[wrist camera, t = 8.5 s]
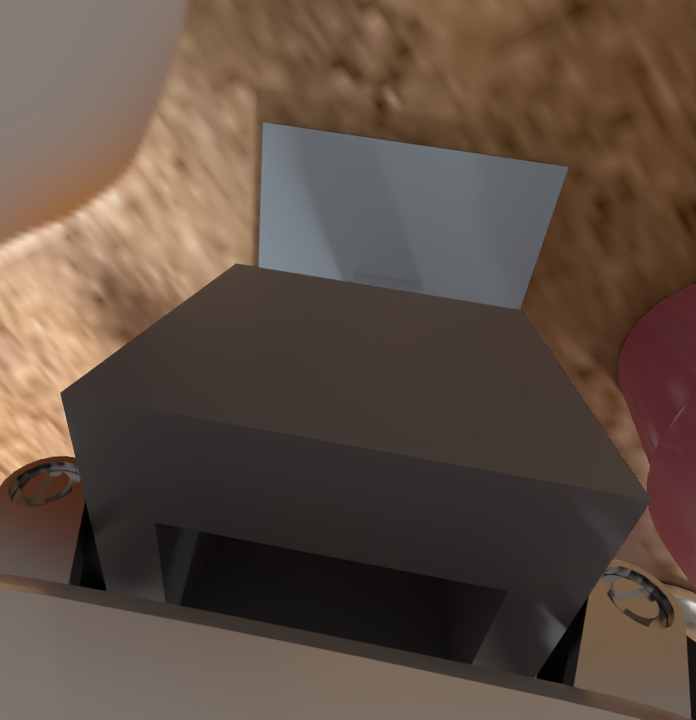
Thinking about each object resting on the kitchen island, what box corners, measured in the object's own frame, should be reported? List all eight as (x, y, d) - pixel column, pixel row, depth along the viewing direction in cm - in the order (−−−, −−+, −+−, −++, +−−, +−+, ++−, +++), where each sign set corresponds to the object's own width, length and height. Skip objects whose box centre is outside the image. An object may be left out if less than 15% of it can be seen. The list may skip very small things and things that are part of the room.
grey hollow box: (522, 309, 10) (666, 521, 4) (451, 515, 13) (482, 782, 8) (236, 263, 10) (40, 407, 5) (235, 475, 14) (120, 703, 8)
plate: (558, 165, 20) (568, 166, 19) (478, 407, 27) (481, 421, 25) (272, 123, 21) (263, 122, 20) (262, 368, 27) (254, 380, 26)
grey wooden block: (423, 282, 22) (428, 335, 16) (416, 310, 23) (419, 372, 16) (355, 270, 22) (333, 319, 16) (351, 299, 23) (329, 356, 17)
